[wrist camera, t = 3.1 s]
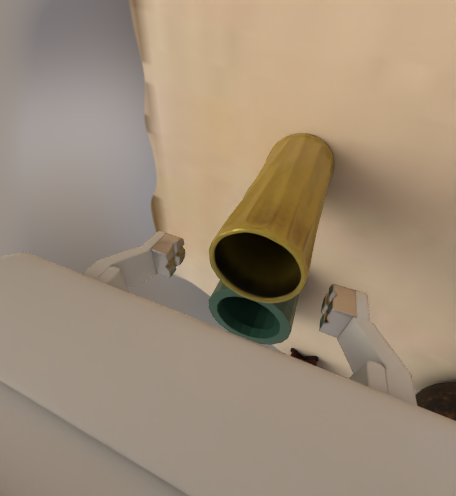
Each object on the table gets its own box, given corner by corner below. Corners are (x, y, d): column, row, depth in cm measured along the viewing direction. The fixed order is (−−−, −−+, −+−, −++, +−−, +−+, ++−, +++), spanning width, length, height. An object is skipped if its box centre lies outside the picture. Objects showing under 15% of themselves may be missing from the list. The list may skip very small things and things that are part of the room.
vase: (271, 128, 21) (197, 206, 11) (344, 137, 19) (335, 240, 9) (263, 190, 25) (203, 289, 15) (322, 202, 23) (300, 322, 13)
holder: (232, 238, 31) (207, 278, 26) (310, 261, 28) (300, 310, 23) (229, 286, 38) (209, 325, 32) (291, 308, 35) (280, 354, 30)
